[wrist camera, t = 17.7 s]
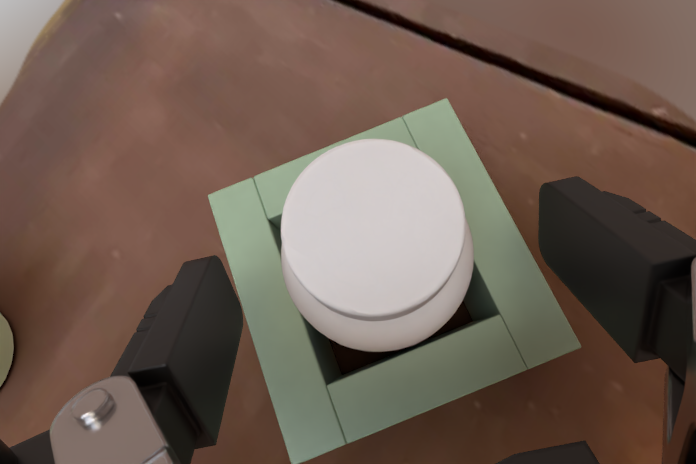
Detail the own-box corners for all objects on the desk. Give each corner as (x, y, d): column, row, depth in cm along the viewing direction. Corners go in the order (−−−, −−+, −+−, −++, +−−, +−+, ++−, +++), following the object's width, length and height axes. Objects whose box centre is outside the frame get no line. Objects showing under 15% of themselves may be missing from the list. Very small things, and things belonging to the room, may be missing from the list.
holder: (434, 152, 19) (447, 97, 15) (533, 346, 17) (583, 347, 12) (247, 227, 19) (206, 194, 15) (317, 435, 17) (291, 467, 12)
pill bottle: (470, 300, 18) (562, 250, 8) (366, 376, 17) (339, 414, 8) (393, 204, 19) (397, 67, 10) (297, 271, 19) (203, 197, 9)
